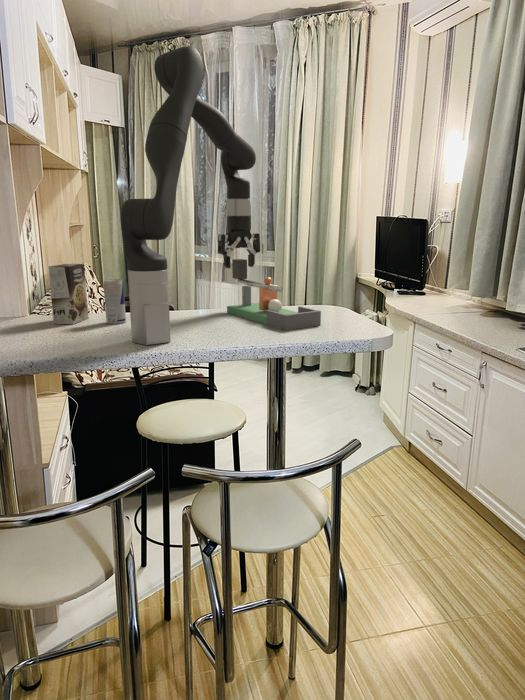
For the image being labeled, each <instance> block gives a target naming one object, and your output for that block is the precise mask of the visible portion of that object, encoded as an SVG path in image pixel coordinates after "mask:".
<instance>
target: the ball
mask: <svg viewBox="0 0 525 700" xmlns="http://www.w3.org/2000/svg"><path fill="white" fill-rule="evenodd" d="M268 308H269V310H271V311H275V312H279V311H280V310H281V308H282V309H283V304H282V301H281V300H279V299H278V298H277V299H273V300H271V301H270V302H269V304H268Z"/></svg>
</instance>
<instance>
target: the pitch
mask: <svg viewBox="0 0 525 700" xmlns="http://www.w3.org/2000/svg"><path fill="white" fill-rule="evenodd" d="M241 289H242V290H241V292H242V293H241V304H235V305H227V306H226V313H228V314H231V315H234V316H238V317H241V318H245V319H246V320H247V319H248V320H251V321H254V322H257V323H259V324H264V325H267V326H269V327H272V328H276V329H280V330H284V331H290V330H299V329H304V328H311V327H317V326H318V327H319V326H321V325H322V324H321V320H322V316H321V315H322V311H321V310H317V309H314V308H310V307H304V306H302V305H301V306H298V307H297V311H293V310H289V309H287V308H286V309H285V308H283V307H282V308H281V310H280V311H279V312H275V311H271V310H265V311H262V310H259V302H253V303H252V286H249V285H242V287H241Z"/></svg>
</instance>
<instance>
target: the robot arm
mask: <svg viewBox="0 0 525 700" xmlns="http://www.w3.org/2000/svg"><path fill="white" fill-rule="evenodd" d="M153 67H154V73H155V77H156V79H157V82H158V83H159V85H160V87H162V89H163V91H165V92H166V93H167V94H168V96H167V98H166V99H165V101H164V102H163V103H162V104H161V106H160V107H159V109H158V110H157V111H156V113H155V114H154V116H153V117H152V119H151V122H149V126H148V130H147V135H146V139H145V144H144V151H145V156H146V158H147V161H148V165H150V168H151V170H152V171H153V174H154V176H155V179H156V190H155V195H154V197H153V198H129V199H127V200H126V199H125V201H124V202H123V203H122V206H121V210H120V229H121V237H122V243H123V244H122V245H123V253H124V255H123V256H124V259H125V261H126V267H127V268H126V269H127V280H128V281H127V283H128V296H129V297H128V298H129V315H130V330H131V341H132V343H134V344H140V345H145V346H151V345H158V344H163V343H170V342H171V341H172V340H171V321H170V299H169V298H170V295H169V275H168V273H169V271H168V259H167V258H166V257H165V256H164V255H162V254H160V253H157V252H155V251H154V250H152V248H151V247H149V246H148V243H147V241H162V240H165V239H167V238H168V237H169V236H170V233H171V231H172V227H173V224H174V216H175V207H176V197H177V188H178V183H179V177H180V172H181V169H182V168H181V166H182V163H183V158H184V155H185V150H186V145H187V141H188V134H189V129H190V124H191V120H192V119H193V120H194V121H195V122H196V123H197V124H198V125H199V126H200V127H201V129H202V130H203V132H204V133H205V134H206V135H207V137H208V138H209V140H210V141H211V142H212V144H213V145H214V147H216V148H217V149H218V150H219V151H221V154H220V164H221V168H222V171H223V176H224V179H225V183H226V191H227V192H226V196H227V197H226V198H227V200H226V230H227V233H226V234H225V233H224V234H223V233H219V234H218V235H217V254H218V255H222V256H223V266H224V268H225V269H231V267H232V266H231V256H230V255H231V254H232V252H233V251H234V250H235V249H241V248H242V249H243V248H244V249H245V250H246V252H247V253H248V255H247V267H250V268H253V267H254V266H255V264H256V263H255V262H256V261H255V258H256V257H255V255H256V254H257V253H261V237H260V236H261V235H260V233H257V232H255V233H252V232H251V231H252V230H251V229H252V203H251V183H250V180H248V179H247V178H244V177H241V176H240V174H239V171H246V170H247V171H248V170H251V169H252V168H253V167H254V166H255V165H256V160H257V156H256V152H255V149H254V148H253V146H252V145H251V144H250V143H249V142H248V141H247V139H245V138H244V137H242V135H240V134H239V133H238V132H237V131H235V129H234V128H233V126H232V125H231V123H230V121H229V120H228V119H227V117H226V116H225V115H224V114H223V113H222V112H221V111H220V110H219V109H218V108H216V107H215V106H214V105H212V104H210V103H209V102H207V101H206V100H204V99H202V98H201V97H200V96H199V93H200V89H201V86H202V84H203V78H204V62H203V58H202V56H201V54H200V52H199V50H197V48H195V47H193V46H185V45H184V46H181V47H178V48H176V49H172V50H169V51H167V52H166V51H165V52H164V53H162V54H160V55H158V56H157V57H156V59H155V61H154V66H153ZM251 240H252V242H250V241H251ZM226 241H228V242H227V244H226Z"/></svg>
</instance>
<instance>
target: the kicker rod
mask: <svg viewBox="0 0 525 700" xmlns="http://www.w3.org/2000/svg"><path fill="white" fill-rule="evenodd" d="M231 261H232V262H231V264H232V266H231V267H232V268H231V269H232V279H235V280H237V283H238V284H239V285H243V286H251V287H255V288H259V289H258V290H259V291H258V294H259V295H258V297H259V298H258V299H259V302H258V303H259V310H262V311H265V310H269V308H268V304H269V302H270V301H271V300H273V299H277V300H278V293H281V292H282V291H283V287H282V286H279V285H276V284H273V279H272V278H271V277H269V276H267V277H265V278H264V281H263V282H260V281H255V280H254V281H253V280H249V279H248V259H245V258H233V259H231Z"/></svg>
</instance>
